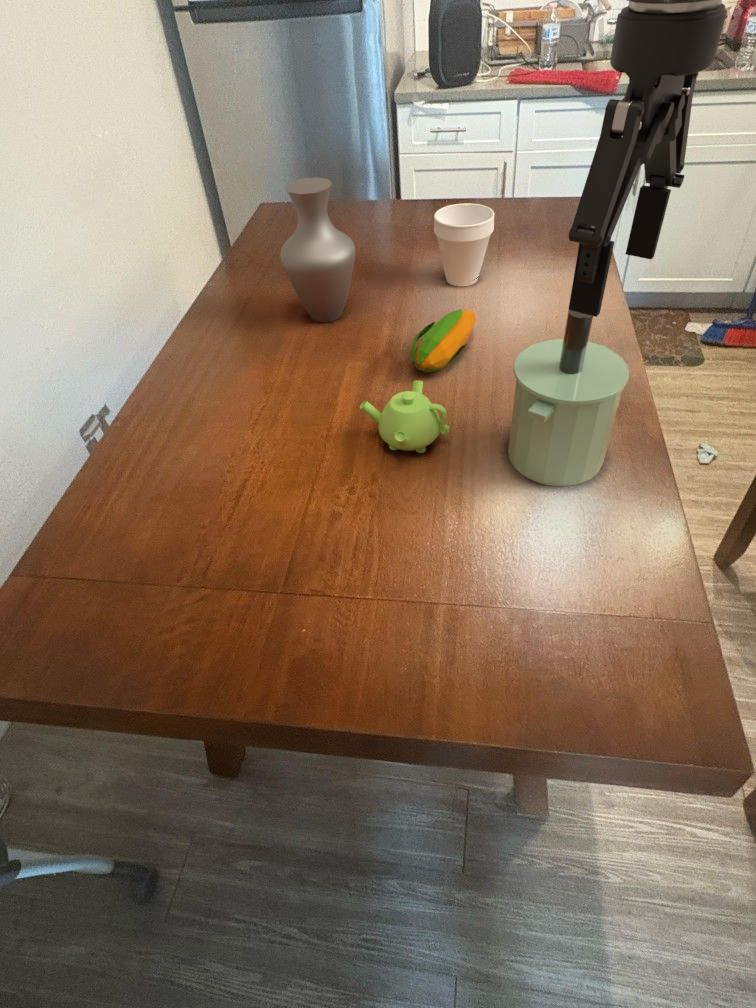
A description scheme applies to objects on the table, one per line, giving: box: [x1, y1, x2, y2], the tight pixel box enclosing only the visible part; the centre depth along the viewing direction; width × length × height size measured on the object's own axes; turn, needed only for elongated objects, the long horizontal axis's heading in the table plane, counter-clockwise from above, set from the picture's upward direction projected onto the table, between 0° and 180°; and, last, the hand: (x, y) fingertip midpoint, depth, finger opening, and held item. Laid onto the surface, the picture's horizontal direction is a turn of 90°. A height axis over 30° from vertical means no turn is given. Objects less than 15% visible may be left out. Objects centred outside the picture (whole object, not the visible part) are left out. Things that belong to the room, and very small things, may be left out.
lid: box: [513, 310, 630, 405], centre depth 77 cm, size 15×15×9 cm
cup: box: [433, 202, 496, 287], centre depth 127 cm, size 12×12×14 cm
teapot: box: [359, 379, 450, 454], centre depth 92 cm, size 11×12×8 cm
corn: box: [409, 308, 477, 373], centre depth 109 cm, size 7×8×20 cm
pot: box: [507, 341, 624, 487], centre depth 85 cm, size 14×19×14 cm
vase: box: [279, 176, 356, 323], centre depth 116 cm, size 14×14×25 cm
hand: (613, 282), depth 59 cm, fingers open, 13 cm apart
